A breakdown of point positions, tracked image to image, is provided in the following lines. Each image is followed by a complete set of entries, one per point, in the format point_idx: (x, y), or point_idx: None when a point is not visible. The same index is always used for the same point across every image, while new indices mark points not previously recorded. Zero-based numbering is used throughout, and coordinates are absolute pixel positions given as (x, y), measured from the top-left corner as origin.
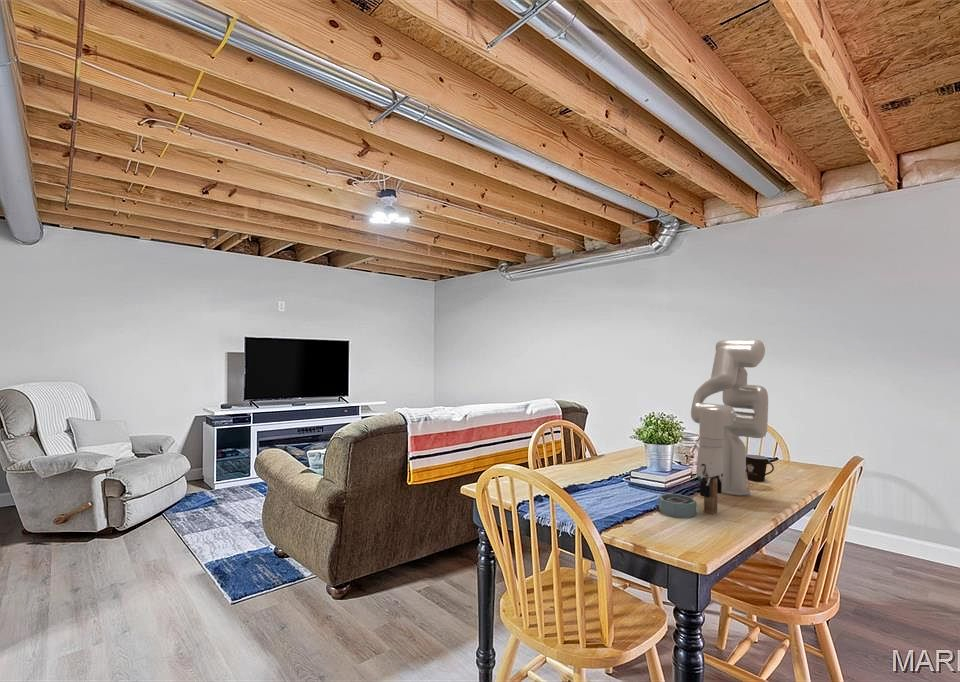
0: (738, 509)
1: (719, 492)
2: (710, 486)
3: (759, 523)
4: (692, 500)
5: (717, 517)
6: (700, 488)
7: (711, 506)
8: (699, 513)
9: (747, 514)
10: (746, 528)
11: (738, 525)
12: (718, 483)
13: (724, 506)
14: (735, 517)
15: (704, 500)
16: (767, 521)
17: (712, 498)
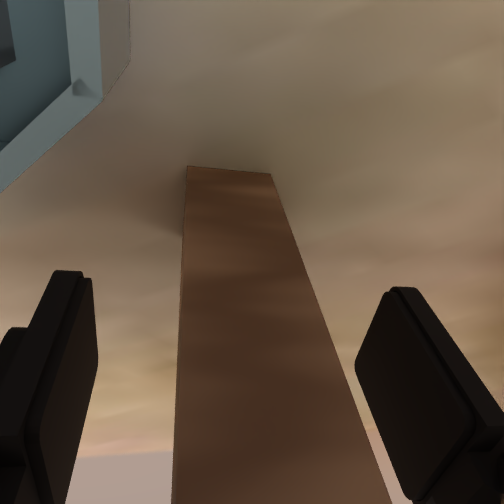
0: (453, 298)
1: (358, 370)
2: (173, 460)
3: None
4: (16, 136)
5: (149, 281)
6: (18, 357)
7: (181, 270)
8: (113, 151)
9: None
10: (103, 427)
11: (112, 396)
12: (407, 473)
13: (479, 216)
14: None
15: (185, 228)
16: None
17: (178, 338)
